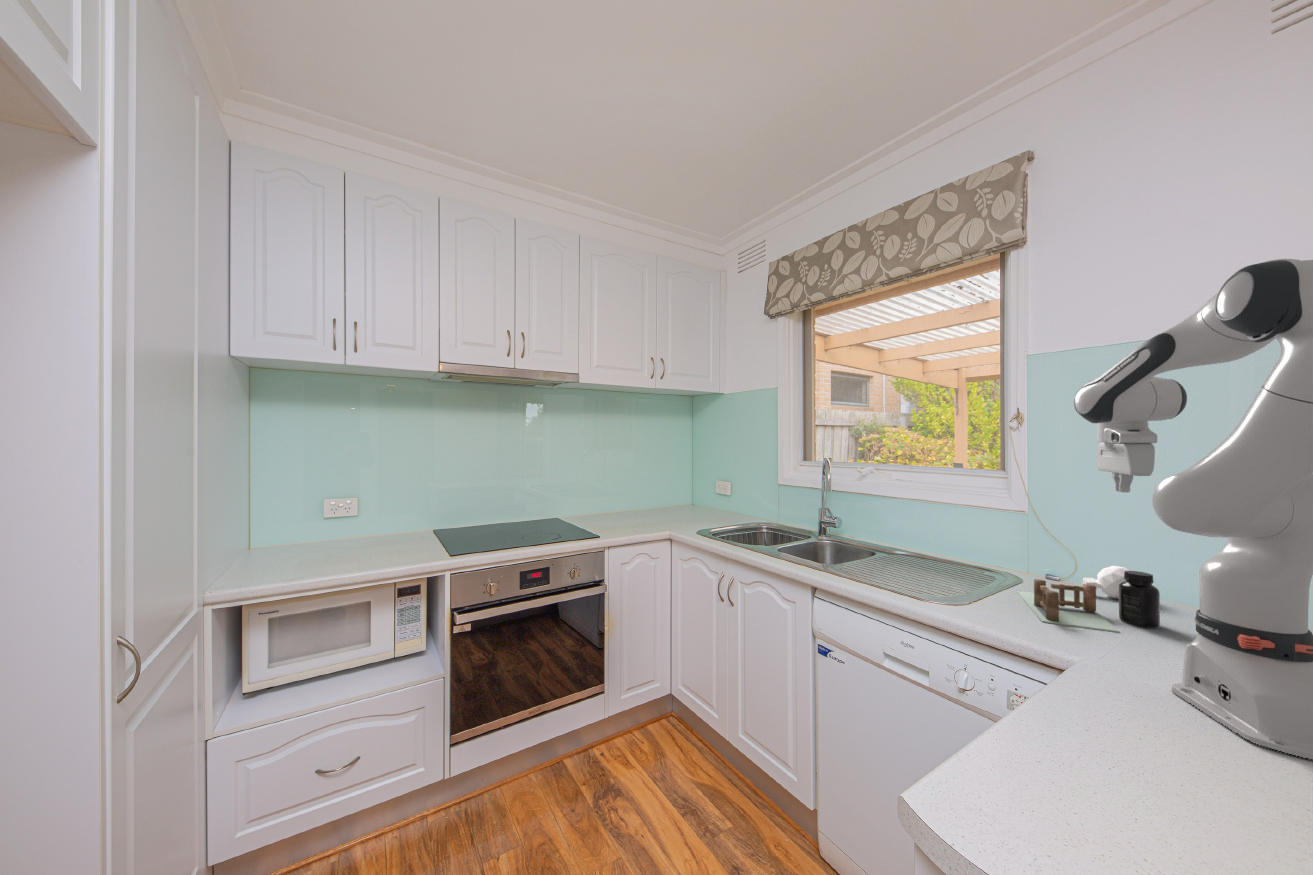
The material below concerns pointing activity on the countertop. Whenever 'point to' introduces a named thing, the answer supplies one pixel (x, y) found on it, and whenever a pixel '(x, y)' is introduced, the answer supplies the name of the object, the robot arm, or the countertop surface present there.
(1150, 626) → the supplement bottle
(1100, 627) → the mat
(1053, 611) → the fence fixed
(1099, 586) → the perfume bottle
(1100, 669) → the countertop surface
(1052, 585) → the fence gate
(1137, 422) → the robot arm
